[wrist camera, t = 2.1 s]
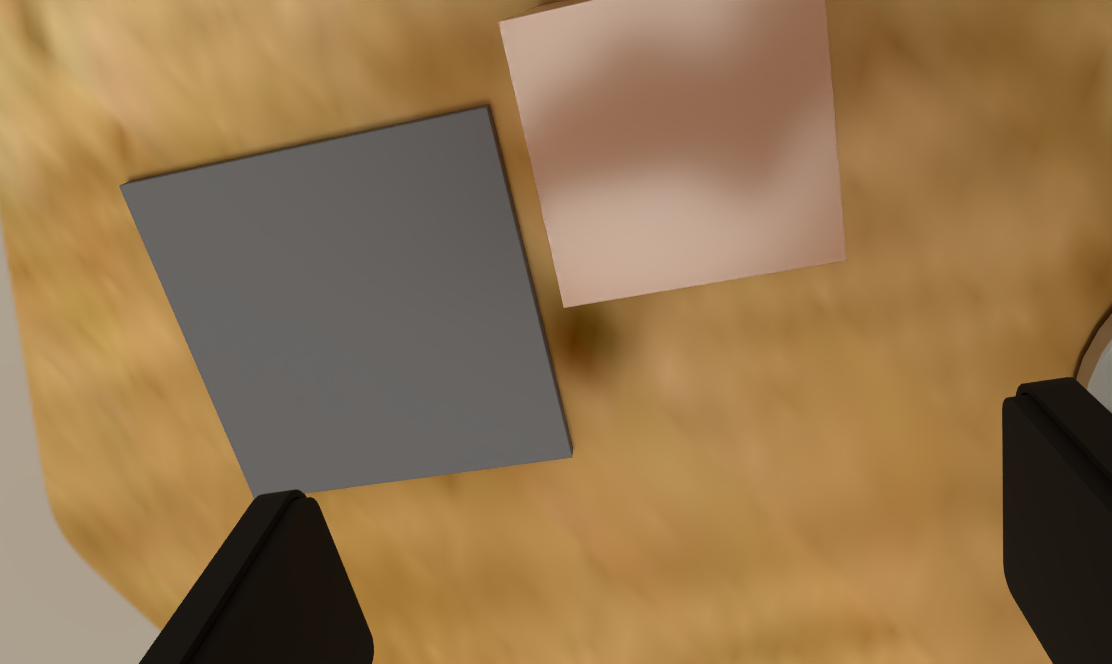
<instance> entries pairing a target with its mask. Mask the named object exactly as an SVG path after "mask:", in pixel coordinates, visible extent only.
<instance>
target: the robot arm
mask: <svg viewBox="0 0 1112 664" xmlns="http://www.w3.org/2000/svg"><path fill="white" fill-rule="evenodd" d="M1002 439H1003V565H1004V573H1005V578H1006V581H1007V585H1008V587H1009V590H1010V592H1011V594H1012V596H1013V598H1014V600H1015V601H1016V603H1017V605H1018V606H1019V608H1020V610H1021V611H1022V613H1023V615H1024V616H1025V618H1026V620H1027V621H1028V623H1029V625H1030V626H1031V628H1032V630H1033V631H1034V633H1035V635H1036V636H1037V638H1038V640H1039V641H1040V643H1041V645H1042V646H1043V648H1044V650H1045V651H1046V653H1047V654H1048V656H1049V658H1050V659H1051V661H1052V663H1053V664H1112V314H1111V315H1110V316H1109V318H1108V319H1107V320H1106V321H1105V323H1104V324H1103V325H1102V326H1101V328H1100V329H1099V330H1098V332H1097V334H1096V336H1095V338H1094V339H1093V341H1092V343H1091V345H1090V347H1089V348H1088V350H1087V352H1086V354H1085V356H1084V357H1083V360H1082V363H1081V366H1080V369H1079V372H1078V375H1077V378H1076V380H1075V379H1074V378H1072V377H1066V378H1059V379H1052V380H1045V381H1038V382H1031V383H1024V384H1021V385H1020V386H1019V387H1018V389H1017V392H1016V396H1015V397H1008V398H1006V399H1005V400H1004V402H1003V408H1002ZM373 656H374V644H373V638H372V635H371V632H370V630H369V627H368V625H367V622H366V620H365V617H364V615H363V612H362V610H361V608H360V605H359V603H358V600H357V598H356V595H355V593H354V590H353V588H352V585H351V583H350V580H349V578H348V576H347V573H346V571H345V568H344V566H343V563H342V561H341V558H340V556H339V553H338V551H337V548H336V546H335V543H334V541H333V539H332V536H331V534H330V531H329V529H328V526H327V524H326V521H325V519H324V516H323V514H322V511H321V509H320V507H319V505H318V503H317V501H316V500H315V499H314V498H311V497H309V498H307V497H306V495H305V494H304V493H303V492H302V491H300V490H297V489H294V490H287V491H280V492H274V493H267V494H261V495H258V496H257V497H256V498H255V499H254V500H253V502H252V503H251V504H250V506H249V507H248V509H247V510H246V512H245V513H244V514H243V516H242V517H241V519H240V520H239V522H238V523H237V524H236V526H235V527H234V529H233V530H232V532H231V533H230V534H229V536H228V537H227V539H226V540H225V542H224V543H223V544H222V546H221V547H220V549H219V550H218V552H217V553H216V554H215V556H214V557H213V559H212V560H211V561H210V563H209V564H208V566H207V567H206V569H205V570H204V571H203V573H202V574H201V576H200V577H199V579H198V580H197V581H196V583H195V584H194V586H193V587H192V589H191V590H190V591H189V593H188V594H187V596H186V597H185V599H184V600H183V601H182V603H181V604H180V606H179V607H178V608H177V610H176V611H175V613H174V614H173V616H172V617H171V618H170V620H169V621H168V623H167V624H166V626H165V627H164V628H163V630H162V631H161V633H160V634H159V636H158V637H157V638H156V640H155V641H154V643H153V644H152V646H151V647H150V649H149V650H148V651H147V653H146V654H145V656H144V657H143V658H142V660H141V661H140V663H139V664H372V661H373Z"/></svg>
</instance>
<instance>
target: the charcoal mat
mask: <svg viewBox="0 0 1112 664" xmlns="http://www.w3.org/2000/svg"><path fill="white" fill-rule="evenodd" d="M119 187H120V189H121V191H122V194H123V196H124V198H125V201H126V203H127V205H128V208H129V210H130V212H131V215H132V217H133V219H134V222H135V224H136V226H137V229H138V231H139V233H140V235H141V238H142V240H143V242H144V245H145V247H146V249H147V252H148V254H149V256H150V259H151V261H152V263H153V266H154V268H155V270H156V272H157V275H158V277H159V279H160V282H161V284H162V286H163V289H164V291H165V293H166V296H167V298H168V300H169V303H170V305H171V307H172V309H173V312H174V314H175V316H176V319H177V321H178V323H179V326H180V328H181V330H182V333H183V335H184V337H185V340H186V342H187V344H188V346H189V349H190V351H191V353H192V356H193V358H194V360H195V363H196V365H197V367H198V370H199V372H200V374H201V377H202V379H203V381H204V383H205V386H206V388H207V390H208V393H209V395H210V397H211V400H212V402H213V404H214V407H215V409H216V411H217V414H218V416H219V418H220V420H221V423H222V425H223V427H224V430H225V432H226V434H227V437H228V439H229V441H230V444H231V446H232V448H233V451H234V453H235V455H236V457H237V460H238V462H239V464H240V467H241V469H242V471H243V474H244V476H245V478H246V481H247V483H248V485H249V488H250V490H251V492H252V494H253V497H254V499H255V498H256V497H257V496H258V495H261V494H267V493H274V492H280V491H287V490H294V489H297V490H300V491H302V492H303V493H304V494H305V493H312V492H319V491H327V490H334V489H342V488H349V487H357V486H364V485H371V484H379V483H386V482H394V481H401V480H409V479H416V478H423V477H431V476H438V475H446V474H453V473H461V472H468V471H475V470H483V469H490V468H498V467H505V466H513V465H520V464H527V463H535V462H542V461H550V460H557V459H565V458H572V454H573V447H572V443H571V439H570V434H569V430H568V426H567V422H566V418H565V414H564V410H563V406H562V401H561V397H560V393H559V389H558V385H557V381H556V377H555V373H554V368H553V364H552V360H551V356H550V352H549V348H548V344H547V340H546V335H545V331H544V327H543V323H542V319H541V315H540V311H539V307H538V303H537V298H536V294H535V290H534V286H533V282H532V278H531V274H530V270H529V265H528V261H527V257H526V253H525V249H524V245H523V241H522V237H521V232H520V228H519V224H518V220H517V216H516V212H515V208H514V204H513V199H512V195H511V191H510V187H509V183H508V179H507V175H506V171H505V167H504V162H503V158H502V154H501V150H500V146H499V142H498V138H497V134H496V129H495V125H494V121H493V117H492V113H491V109H490V105H485V106H481V107H476V108H471V109H467V110H462V111H457V112H452V113H448V114H443V115H438V116H434V117H429V118H424V119H420V120H415V121H410V122H406V123H401V124H396V125H392V126H387V127H382V128H378V129H373V130H368V131H364V132H359V133H354V134H350V135H345V136H340V137H336V138H331V139H326V140H322V141H317V142H312V143H308V144H303V145H298V146H294V147H289V148H284V149H280V150H275V151H270V152H266V153H261V154H256V155H252V156H247V157H242V158H238V159H233V160H228V161H224V162H219V163H214V164H210V165H205V166H200V167H196V168H191V169H186V170H181V171H177V172H172V173H167V174H163V175H158V176H153V177H149V178H144V179H139V180H135V181H130V182H127V183H125V184H122V185H120V186H119Z"/></svg>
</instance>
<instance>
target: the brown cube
mask: <svg viewBox="0 0 1112 664" xmlns="http://www.w3.org/2000/svg"><path fill="white" fill-rule="evenodd" d="M499 27H500V31H501V35H502V40H503V44H504V49H505V53H506V57H507V62H508V66H509V70H510V75H511V79H512V83H513V88H514V92H515V96H516V101H517V105H518V109H519V114H520V118H521V123H522V127H523V131H524V136H525V140H526V144H527V149H528V153H529V157H530V162H531V166H532V170H533V175H534V179H535V184H536V188H537V192H538V197H539V201H540V205H541V210H542V214H543V218H544V223H545V227H546V231H547V236H548V240H549V245H550V249H551V253H552V258H553V262H554V266H555V271H556V275H557V279H558V284H559V288H560V292H561V297H562V301H563V305H564V308H565V307H571V306H577V305H583V304H589V303H595V302H601V301H607V300H613V299H619V298H625V297H631V296H637V295H643V294H649V293H655V292H661V291H667V290H673V289H679V288H685V287H691V286H697V285H703V284H709V283H715V282H721V281H727V280H733V279H739V278H745V277H751V276H757V275H763V274H769V273H775V272H781V271H787V270H793V269H799V268H805V267H811V266H817V265H823V264H829V263H835V262H841V261H847V260H846V247H845V235H844V223H843V211H842V198H841V186H840V174H839V162H838V149H837V137H836V125H835V112H834V100H833V88H832V76H831V63H830V51H829V39H828V27H827V14H826V2H825V0H563V1H558V2H554V3H550V4H546V5H541V6H537V7H535V8H532V9H530V10H527V11H525V12H522V13H520V14H517V15H515V16H512V17H510V18H507V19H505V20H502V21H500V22H499Z"/></svg>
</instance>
